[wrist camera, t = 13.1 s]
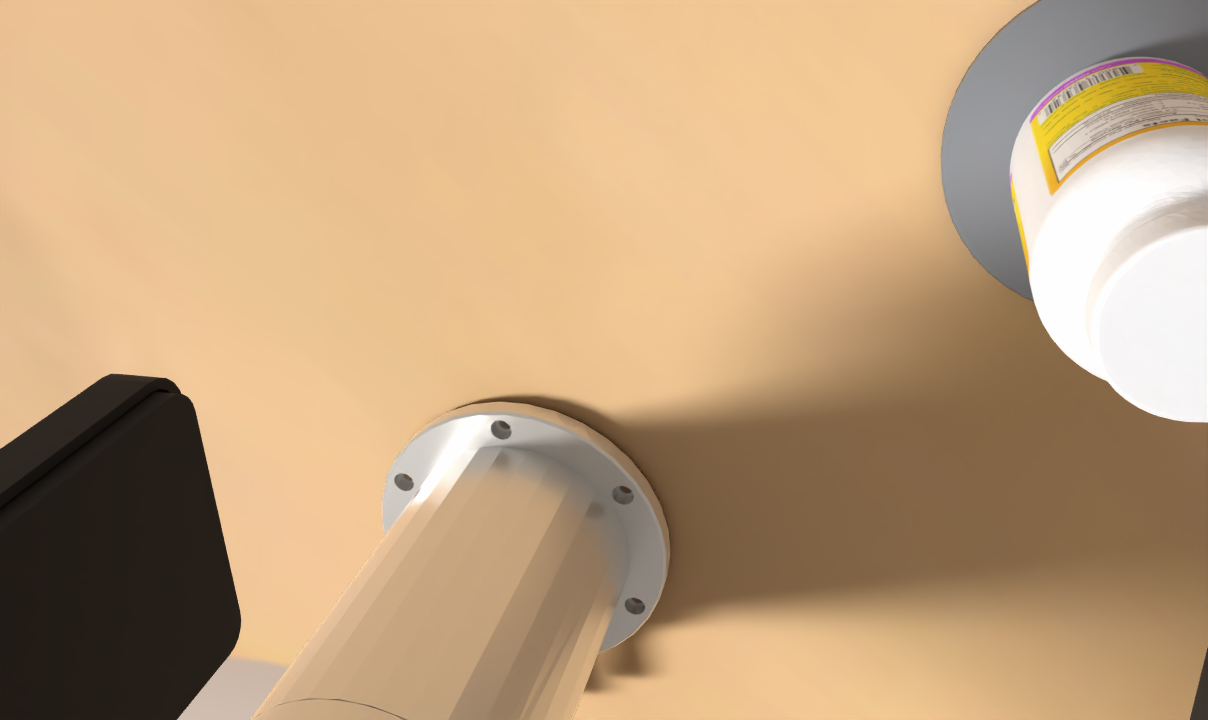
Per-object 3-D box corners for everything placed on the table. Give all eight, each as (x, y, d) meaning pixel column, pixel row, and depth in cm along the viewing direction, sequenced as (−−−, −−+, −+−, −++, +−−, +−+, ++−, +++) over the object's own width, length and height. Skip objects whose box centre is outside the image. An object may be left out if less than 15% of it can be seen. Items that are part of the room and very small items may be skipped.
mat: (1291, 312, 36) (1296, 320, 36) (936, 308, 39) (936, 315, 39) (1356, -47, 32) (1363, -44, 31) (946, -21, 34) (947, -18, 34)
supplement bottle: (1176, 285, 36) (1283, 506, 25) (975, 222, 37) (992, 409, 26) (1286, 86, 33) (1464, 238, 22) (1062, 21, 34) (1124, 137, 23)
